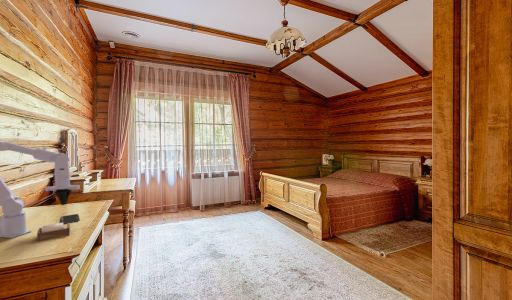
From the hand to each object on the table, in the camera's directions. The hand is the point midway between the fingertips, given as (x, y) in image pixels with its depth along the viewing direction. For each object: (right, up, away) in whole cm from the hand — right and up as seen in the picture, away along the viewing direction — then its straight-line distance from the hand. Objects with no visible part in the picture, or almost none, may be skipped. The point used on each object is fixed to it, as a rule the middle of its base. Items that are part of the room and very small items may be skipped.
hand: (63, 204), depth 121 cm
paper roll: (+6, -8, -13) cm, 16 cm away
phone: (-4, -11, +10) cm, 15 cm away
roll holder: (+6, -11, -13) cm, 18 cm away
